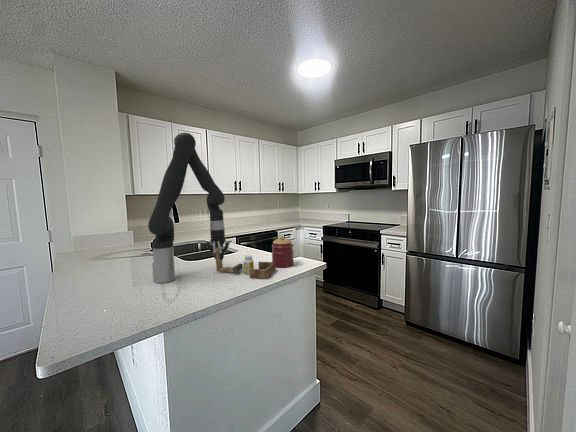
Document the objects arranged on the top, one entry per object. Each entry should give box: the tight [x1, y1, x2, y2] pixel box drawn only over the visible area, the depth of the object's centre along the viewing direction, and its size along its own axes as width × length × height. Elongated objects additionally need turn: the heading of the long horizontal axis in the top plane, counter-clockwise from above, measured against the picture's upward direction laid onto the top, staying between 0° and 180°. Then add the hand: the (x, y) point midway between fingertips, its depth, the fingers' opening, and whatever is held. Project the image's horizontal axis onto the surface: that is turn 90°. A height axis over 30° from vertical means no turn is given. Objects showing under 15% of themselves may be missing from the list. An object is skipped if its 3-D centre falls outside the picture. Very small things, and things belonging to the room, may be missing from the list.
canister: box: [271, 235, 294, 269], centre depth 147 cm, size 13×13×18 cm
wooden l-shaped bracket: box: [215, 247, 244, 274], centre depth 135 cm, size 13×8×13 cm, turn 76°
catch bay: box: [249, 261, 277, 280], centre depth 131 cm, size 10×15×4 cm, turn 167°
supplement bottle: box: [242, 254, 255, 276], centre depth 133 cm, size 5×5×10 cm
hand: (219, 259), depth 136 cm, fingers closed on wooden l-shaped bracket, 2 cm apart
